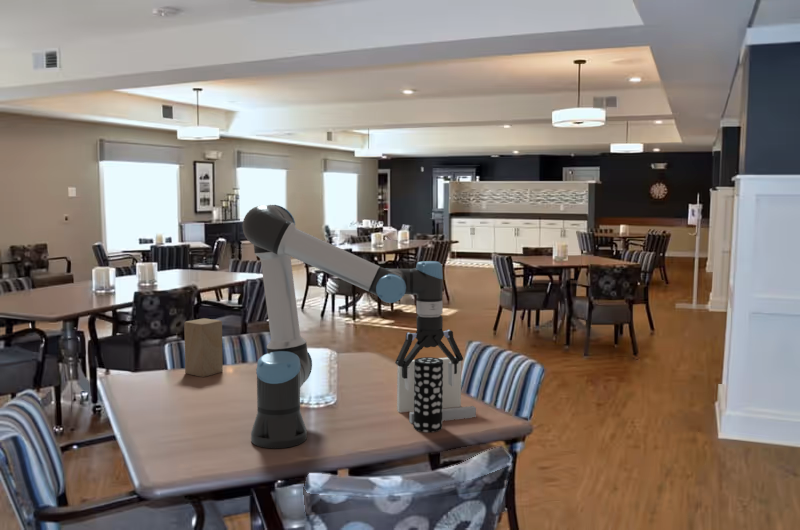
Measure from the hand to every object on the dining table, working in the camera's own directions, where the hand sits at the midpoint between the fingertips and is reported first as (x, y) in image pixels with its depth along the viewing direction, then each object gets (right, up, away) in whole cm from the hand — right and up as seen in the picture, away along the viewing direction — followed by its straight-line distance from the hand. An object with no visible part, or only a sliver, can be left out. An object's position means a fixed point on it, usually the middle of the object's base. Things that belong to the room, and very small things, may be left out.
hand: (429, 387), depth 199 cm
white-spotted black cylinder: (0, -12, +1) cm, 12 cm away
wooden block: (-83, -6, +61) cm, 104 cm away
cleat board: (+3, -11, +14) cm, 18 cm away
